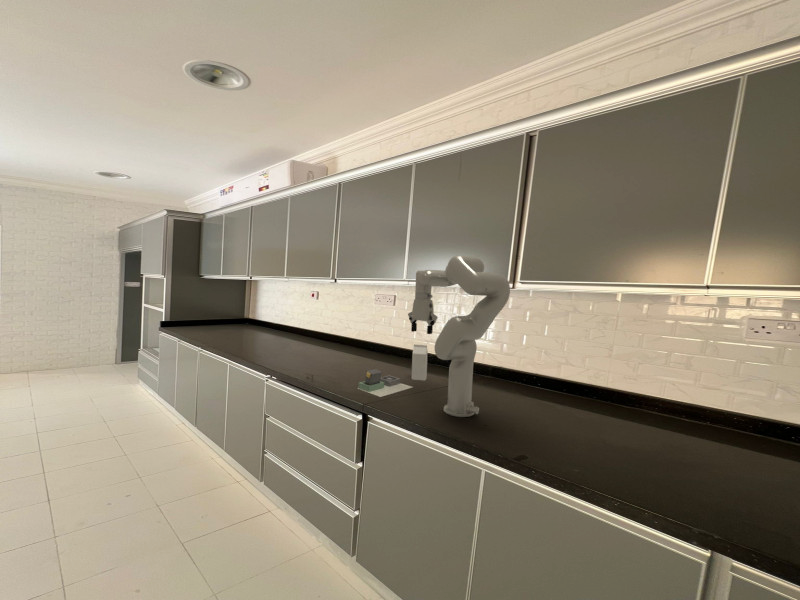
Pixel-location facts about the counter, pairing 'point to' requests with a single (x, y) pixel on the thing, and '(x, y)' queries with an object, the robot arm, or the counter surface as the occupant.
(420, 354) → the milk carton
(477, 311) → the robot arm
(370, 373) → the plug
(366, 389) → the green rectangular frame
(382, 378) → the board
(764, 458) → the counter surface
